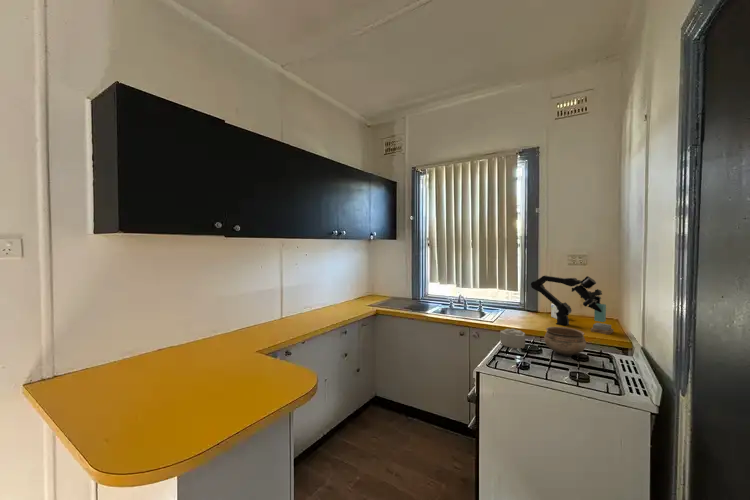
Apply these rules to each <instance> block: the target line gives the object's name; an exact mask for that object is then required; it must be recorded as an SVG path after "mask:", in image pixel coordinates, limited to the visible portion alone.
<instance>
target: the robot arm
mask: <svg viewBox="0 0 750 500" xmlns="http://www.w3.org/2000/svg"><path fill="white" fill-rule="evenodd" d="M546 282H549V283H550V282H552V283H556V284H557V283H558V284H562V285H565V286H568V287H571V292H573V293H574V292H576V293H577V294H578V295H579V297H580V298H581V299H583V300H584V301H583V302H582V305H583V306H584V307H588V308H590V309H592V310H596V311H599V312H602V311H601V309H600V308H599V307H598V306H597V304H602V303H601V299H602V297H601V295H603V291H602V290H600V289H598V288H597V289H595V290H594V291H593V292H592V291H589V290H588V289H590V288H592V287H593V286H594V285H596V284H597V282H596V281H595V280H594V279H593V278H592V277H590V276H588V275H587V276H586V277H584V278H583V279H582V280H581V279H578V278H576V277H559V276H557V277H556V276H549V275H546V274H544V275H542V276H541V277H540V278H538V279H537V280H535V281H532V282H531V283H530V287H531V288H532V289H533V290H534V291H536V292H539V293H541V295H543V296H544V297H545V298H546V299H547V300H548V301H549V302H551V304H554V305H555V306H556V307H557V309H558V311H559V312H557V313H556V315H557V319H556V323H555V324H556V325H559V326H563V327H564V326H565V327H566V326H568V325H570V318H569V314H571V313H572V307H571V306H570V305H569V304H568V303H567V302H566V301H565V302H561V301H560V300H559V299H558V298H557V297H555V296H554V294H553V293H551V292H550V291H549V290H548V289H547V288H546V287H545V285H544V284H545V283H546Z"/></svg>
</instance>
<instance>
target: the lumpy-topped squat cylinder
mask: <svg viewBox="0 0 750 500" xmlns="http://www.w3.org/2000/svg"><path fill="white" fill-rule="evenodd" d="M499 336H500V337H499V338H500V339H499V341H500V342H501V343H502V344H503V345H502V344H501V345H502V346H504V347H508V348H512V349H513V348H514V349H520V348H522V349H525V347H526V333H525V332H523V331H522V330H520V329H519V330H518V329H517V328H511V329H510V328H506V329H504V330H503V329H502V330H500V334H499Z"/></svg>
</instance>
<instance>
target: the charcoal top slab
mask: <svg viewBox="0 0 750 500" xmlns="http://www.w3.org/2000/svg"><path fill="white" fill-rule="evenodd" d="M592 328H594V329H599V330H605V331H608V330H610V329H612V324H607V323H603V322H602V323H601V322H595V323H594V324H592Z"/></svg>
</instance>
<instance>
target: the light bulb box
mask: <svg viewBox="0 0 750 500" xmlns="http://www.w3.org/2000/svg"><path fill="white" fill-rule="evenodd" d="M550 312H551V313H550V315H551V316H550V317H551V318H554V319H556V320H557V315H556V313H557V312H559V311H558V309H557V307H556V306H555V305H554V304H553V303H551V304H550Z"/></svg>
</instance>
